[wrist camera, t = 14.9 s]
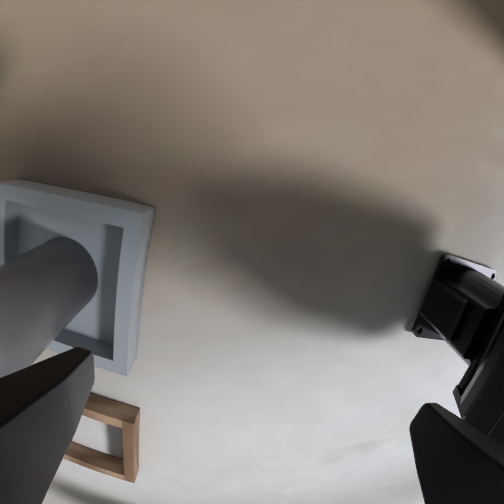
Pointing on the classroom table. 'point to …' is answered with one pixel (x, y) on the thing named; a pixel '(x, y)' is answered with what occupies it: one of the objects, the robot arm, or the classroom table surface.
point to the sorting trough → (102, 252)
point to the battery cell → (41, 298)
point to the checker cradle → (129, 423)
